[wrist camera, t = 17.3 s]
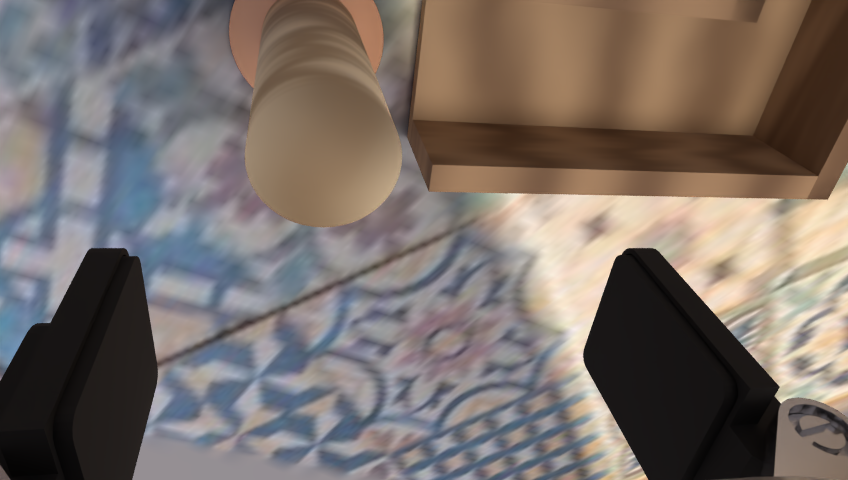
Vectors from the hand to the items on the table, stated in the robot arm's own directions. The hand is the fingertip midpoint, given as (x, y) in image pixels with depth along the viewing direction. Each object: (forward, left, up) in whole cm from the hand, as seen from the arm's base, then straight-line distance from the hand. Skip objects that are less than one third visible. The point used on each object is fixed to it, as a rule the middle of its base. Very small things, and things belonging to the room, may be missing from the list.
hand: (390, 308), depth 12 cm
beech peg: (+1, +1, -24) cm, 24 cm away
